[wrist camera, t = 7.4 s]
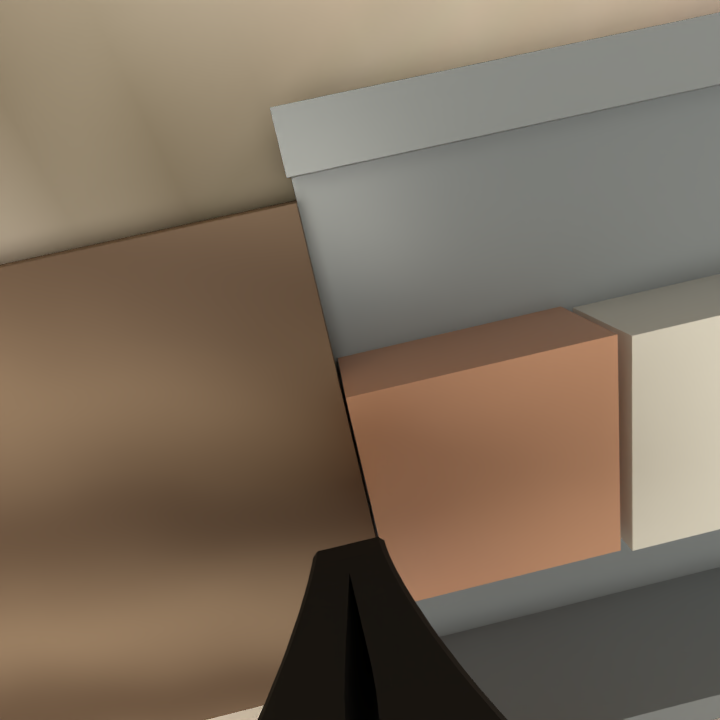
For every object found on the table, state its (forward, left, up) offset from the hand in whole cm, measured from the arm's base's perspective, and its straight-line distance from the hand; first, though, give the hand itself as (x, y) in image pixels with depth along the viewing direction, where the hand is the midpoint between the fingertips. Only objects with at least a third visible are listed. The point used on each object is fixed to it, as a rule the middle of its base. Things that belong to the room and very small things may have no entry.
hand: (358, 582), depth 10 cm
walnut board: (0, +8, -5) cm, 9 cm away
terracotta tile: (0, -4, -4) cm, 6 cm away
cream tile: (0, -10, -4) cm, 11 cm away
